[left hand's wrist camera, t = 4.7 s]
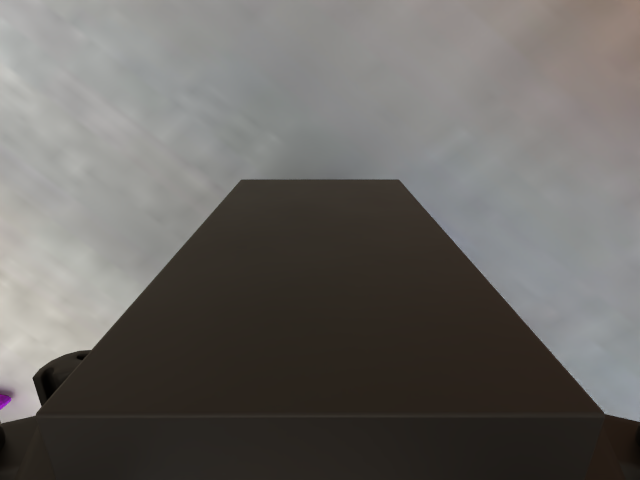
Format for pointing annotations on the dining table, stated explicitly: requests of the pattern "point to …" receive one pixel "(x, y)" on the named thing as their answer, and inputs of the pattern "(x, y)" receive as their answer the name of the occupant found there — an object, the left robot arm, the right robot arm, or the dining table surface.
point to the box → (320, 357)
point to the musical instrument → (4, 400)
